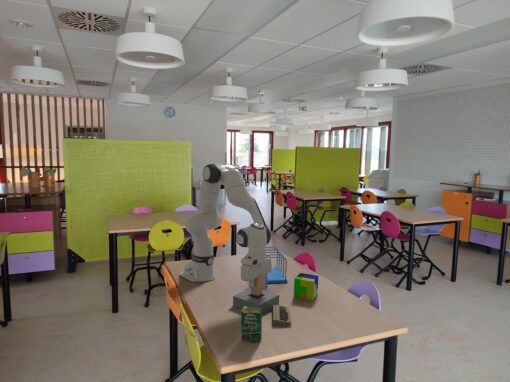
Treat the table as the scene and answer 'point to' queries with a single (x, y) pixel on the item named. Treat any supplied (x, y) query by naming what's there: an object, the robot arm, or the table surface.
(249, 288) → the ink cartridge box
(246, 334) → the coffee box
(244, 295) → the holder
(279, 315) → the computer
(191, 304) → the table surface
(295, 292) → the puzzle toy
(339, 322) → the table surface
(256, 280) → the block
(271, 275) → the file sorter
